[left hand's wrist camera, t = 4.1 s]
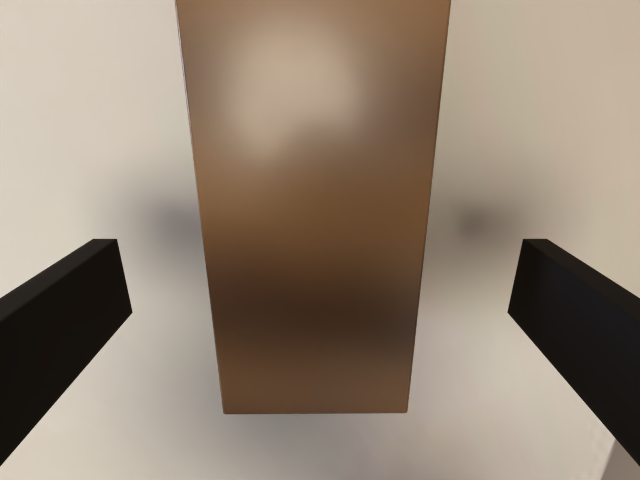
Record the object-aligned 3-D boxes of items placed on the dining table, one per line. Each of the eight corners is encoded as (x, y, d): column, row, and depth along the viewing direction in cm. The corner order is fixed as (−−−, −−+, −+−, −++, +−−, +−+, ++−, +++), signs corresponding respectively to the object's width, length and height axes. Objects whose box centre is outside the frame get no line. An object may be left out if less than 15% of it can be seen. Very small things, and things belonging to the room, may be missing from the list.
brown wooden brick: (226, -218, 13) (90, -696, 5) (400, -217, 13) (525, -688, 5) (259, 292, 19) (223, 415, 12) (372, 291, 19) (407, 414, 12)
